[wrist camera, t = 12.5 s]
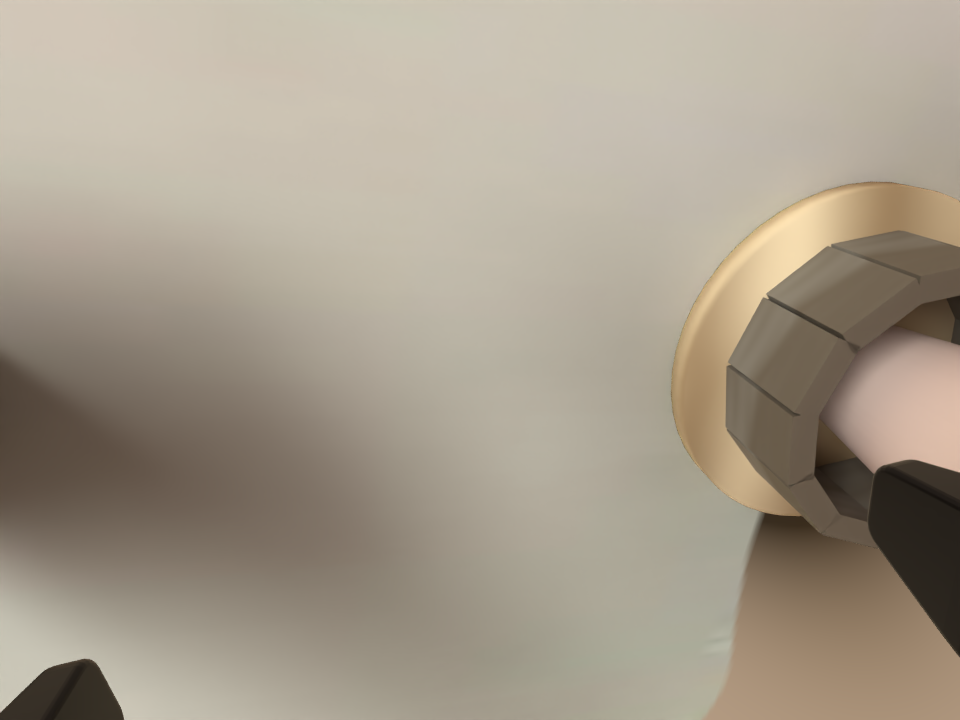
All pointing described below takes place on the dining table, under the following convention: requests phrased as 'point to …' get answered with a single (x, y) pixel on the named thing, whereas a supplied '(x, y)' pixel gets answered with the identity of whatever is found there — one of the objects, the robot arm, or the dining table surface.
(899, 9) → the dining table surface
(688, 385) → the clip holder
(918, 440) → the smoothie
